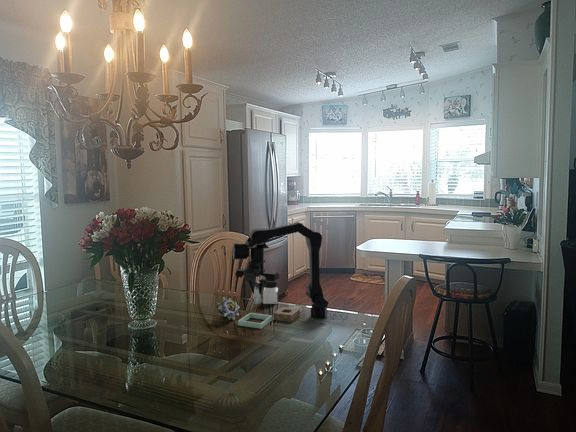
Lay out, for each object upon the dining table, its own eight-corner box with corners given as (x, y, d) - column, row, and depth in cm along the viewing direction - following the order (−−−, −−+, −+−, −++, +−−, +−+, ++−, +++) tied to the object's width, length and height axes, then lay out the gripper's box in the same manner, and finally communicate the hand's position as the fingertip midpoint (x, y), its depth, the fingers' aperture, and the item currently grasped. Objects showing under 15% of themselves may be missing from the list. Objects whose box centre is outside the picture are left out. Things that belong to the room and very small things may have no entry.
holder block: (299, 317, 201) (299, 309, 201) (292, 324, 193) (292, 315, 192) (281, 315, 205) (281, 306, 204) (273, 321, 196) (273, 312, 196)
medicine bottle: (277, 305, 219) (277, 281, 218) (263, 305, 219) (262, 282, 218) (278, 301, 226) (277, 278, 225) (264, 301, 226) (263, 278, 225)
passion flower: (233, 331, 200) (227, 316, 192) (213, 324, 204) (207, 308, 196) (246, 312, 207) (241, 296, 199) (226, 305, 211) (221, 289, 203)
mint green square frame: (272, 322, 196) (272, 315, 195) (261, 330, 186) (261, 323, 185) (250, 319, 200) (250, 312, 200) (238, 327, 190) (238, 320, 190)
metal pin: (262, 302, 193) (262, 282, 192) (258, 304, 190) (258, 283, 189) (255, 301, 194) (255, 281, 193) (252, 303, 192) (252, 283, 191)
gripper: (228, 260, 187) (228, 296, 188) (268, 264, 179) (268, 301, 181) (241, 255, 197) (241, 289, 198) (280, 259, 189) (279, 294, 191)
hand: (257, 294), depth 192 cm, fingers closed on metal pin, 3 cm apart
